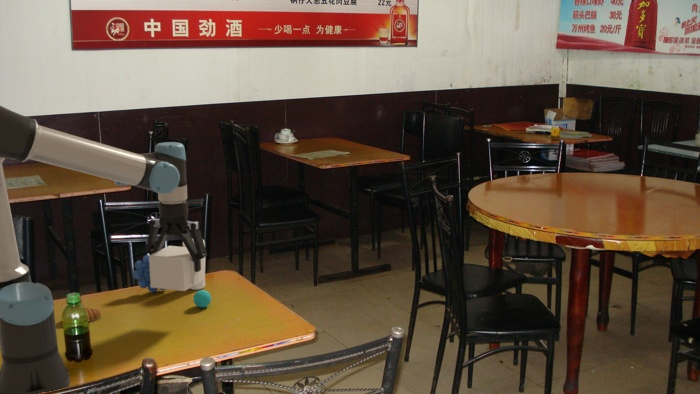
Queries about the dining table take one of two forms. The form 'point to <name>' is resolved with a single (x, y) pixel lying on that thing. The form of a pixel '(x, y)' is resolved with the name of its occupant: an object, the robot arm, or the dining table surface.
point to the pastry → (93, 314)
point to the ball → (202, 298)
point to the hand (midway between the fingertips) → (177, 280)
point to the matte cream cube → (172, 269)
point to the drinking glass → (202, 283)
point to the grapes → (144, 274)
